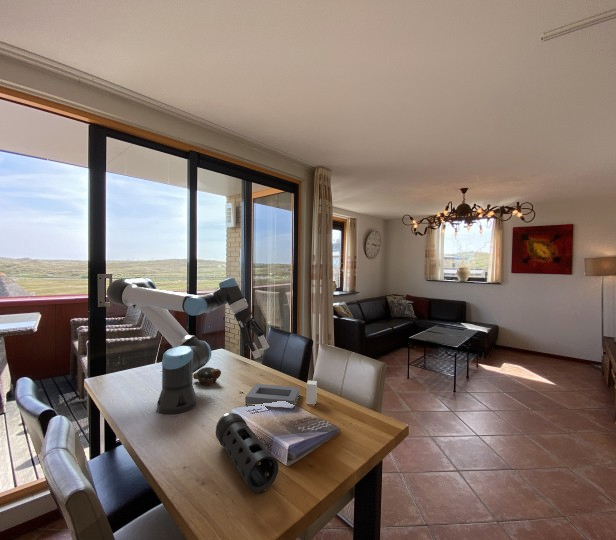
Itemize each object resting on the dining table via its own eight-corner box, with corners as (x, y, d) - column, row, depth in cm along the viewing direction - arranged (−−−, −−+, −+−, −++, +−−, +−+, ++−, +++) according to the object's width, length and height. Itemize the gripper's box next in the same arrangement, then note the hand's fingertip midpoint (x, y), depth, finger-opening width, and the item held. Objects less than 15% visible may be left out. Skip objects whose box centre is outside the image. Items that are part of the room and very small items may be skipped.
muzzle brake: (245, 503, 75) (246, 462, 75) (213, 445, 98) (213, 414, 98) (279, 488, 80) (280, 450, 80) (240, 436, 103) (241, 407, 103)
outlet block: (245, 404, 126) (245, 396, 126) (255, 390, 140) (255, 383, 140) (293, 409, 123) (293, 400, 123) (299, 394, 137) (299, 387, 137)
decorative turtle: (217, 388, 142) (216, 372, 142) (188, 387, 145) (187, 371, 144) (226, 379, 152) (225, 364, 151) (199, 379, 154) (197, 364, 154)
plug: (306, 404, 128) (306, 384, 128) (307, 400, 132) (308, 380, 132) (315, 405, 127) (315, 384, 127) (316, 401, 131) (317, 381, 131)
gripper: (237, 310, 121) (261, 357, 120) (257, 303, 146) (276, 342, 144) (222, 319, 122) (245, 365, 121) (244, 309, 147) (263, 348, 145)
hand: (262, 352), depth 133 cm, fingers open, 13 cm apart
